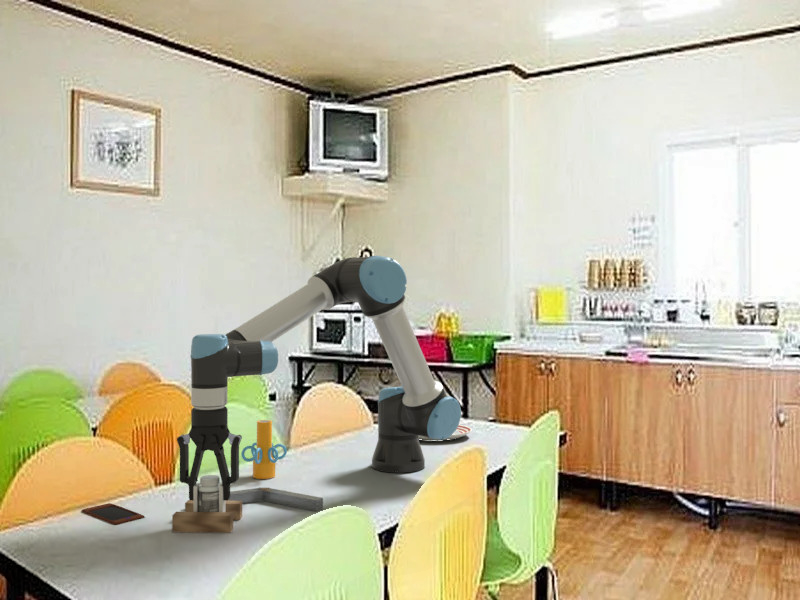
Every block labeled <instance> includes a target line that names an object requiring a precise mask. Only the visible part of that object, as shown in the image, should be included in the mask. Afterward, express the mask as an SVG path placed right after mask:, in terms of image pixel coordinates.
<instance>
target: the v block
mask: <svg viewBox="0 0 800 600" xmlns="http://www.w3.org/2000/svg"><path fill="white" fill-rule="evenodd" d="M227 501H242V505H243V504H248V503H256V502H266V503H272V504H276V505H282V506H287V507H293V508H297V509H302V510H307V511H313V512H318V511H320V510H323V509H324V508H323V507H324V498H323V497H321V496H315V495H309V494H305V493H304V494H303V493H298V492H294V491H293V492H292V491H287V490H282V489H276V488H271V487H257V488H256V487H255V488H249V489H248V488H247V489H239V490H233V491H231V490H230V498H229V499H228V500H227Z"/></svg>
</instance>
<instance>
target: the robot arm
mask: <svg viewBox="0 0 800 600" xmlns="http://www.w3.org/2000/svg"><path fill="white" fill-rule="evenodd" d="M405 272H406V271H405V270H404V268H403V267H402V265H401V264H400V263H399V262H398V261H397V260H395V259H394V258H392V257H390V256H389V257H388V256H382V255H372V256H363V257H362V256H361V257H346V258H344V259H343V258H342V259H341V260H338V261H336V262H334V263H333V264H331V265H329V266H328V267H326V268H324V269H322V270H321V271H319V272H318V273H316V274H313V276H311V277H310V278H308V281H307V284H305V285H304V286H302V287H301V288H299V289H298V290H296V291H295V292H293V293H291V294H290V295H288V296H286V297H284V298H283V299H281V300H280V301H278V302H277V303H274V304H273V305H272V306H270V307H269V308H267V309H265V310H263V311H262V312H260V313H258V314H257V315H255V316H254V317H251V319H249V320H248V321H246V322H244V323H243V324H241V325H239V326H238V327H236V328H234V329H233V330H230V331H229V332H227V333H225V334H224V333H223V334H222V333H206V334H205V333H204V334H203V333H202V334H196V335H194V336H193V337H192V339H191V347H190V355H189V357H190V362H191V363H190V367H191V369H190V370H191V371H190V372H191V382H190V383H191V388H190V390H191V391H190V392H191V393H190V395H191V397H190V399H191V400H190V405H191V406H192V407H191V410H190V411H191V414H190V415H191V417H190V418H191V420H190V421H191V425H190V426H191V428H190V430H189V432H188V433H185V434H181V435H179V436H178V437H177V438H176V442H177V444H178V447H179V482H180V483H183V484H187V485H188V500H193V512H199V487H200V486H201V485H200V482H198V477H199V474H200V470H201V466H202V461H203V457H204V454H205V452H206V451H211V452H213V454H214V456H215V459H216V463H217V466H218V467H217V468H218V472H219V477H220V481H221V484H219V485H220V486H219V512H226V500H228V499H229V498H230V492H231V485H232V484H235V483H236V482H237V481H238V480H239V479H240V444H241V441H242V439H243V436H242V435H241V434H234V433H232V432H230V429H229V427H228V425H229V424H228V422H229V421H228V413H229V412H228V411H229V410H228V407H227V406H226V405H228V381H229V380H228V378H234V377H247V376H257V375H258V376H262V375H267V374H268V375H269V374H272V373H274V372H275V371H276V369H277V367H278V364H279V353H278V349H277V346H276V345H275V343H273V342H274V341H276V340H277V339H279V338H280V337H282V336H284V335H285V334H286V333H288V332H290V331H291V330H292V329H294V328H295V327H297V326H299V325H301V324H302V323H303V322H305V321H307V320H308V319H310V318H312V317H313V316H314V315H316V314H317V313H319V312H321V311H322V310H324V311H325V310H331V309H332V308H334V307H335V306H338V305H341V304H346V303H351V302H352V303H357V304H358V305H359V307H360V310H361V312H362V314H363V316H364V317H365V318H369V319H371V320H372V322H373V325H374V327H375V328H376V331H377V333H378V336H379V338H380V340H381V342H382V345H383V347H384V348H385V352H386V353H387V356H388V358H389V361H390V363H391V364H392V367H393V369H394V372H395V374H396V376H397V378H398V380H399V382H400V385H401V386H391V387H384V388H382V389H381V388H380V390H379V392H378V401H377V412H378V413H377V421H378V422H377V428H378V429H377V430H378V431H377V432H378V436H377V437H378V438H377V441H376V442H377V443H376V445H375V449H374V451H373V455H372V457H371V468H373V469H374V470H376V471H380V472H384V473H385V472H386V473H397V474H398V473H401V474H402V473H412V472H418V471H421V470H423V469H424V468H425V457H424V453H423V450H422V446H421V444H420V441H419V435H420V436H424V437H428V438H431V439H446V438H448V437H450V436H451V435H452V434H453V433H454V432H455V431H456V429H457V427H458V425H460V421H461V418H462V409H461V405H460V403H459V401H458V400H457V399H456V398H454V397H453V396H448V395H447V393H446V390H445V388H444V386H443V384H442V382H441V381H438V380H435V379H434V377H433V375H432V372H431V369H430V368H429V366H428V362H427V360H426V357H425V356H424V353H423V351H422V349H421V346H420V344H419V341H418V339H417V336H416V334H415V332H414V330H413V327H412V325H411V323H410V320H409V318H408V315H407V313H406V311H405V308H404V306H403V305H404V303H405V300H406V296H405V293H406V290H407V286H406V285H407V283H408V282H407V276H406V273H405ZM191 440H192V442H193V443H194V445H195V446H196V447H195V450H194V456H193V457H194V458H193V461H192V466H191V470H190V467H189V465H190V461H189V460H190V459H189V456H190V452H189V451H190V450H189V448H190V447H189V444H190V442H191ZM227 440H229V442H228V443H229V444H230V446H231V447H230V470H229V467H228V464H227V459H226V455H225V449H224V448H225V447H224V444H225V443H226V441H227ZM189 471H190V472H189Z"/></svg>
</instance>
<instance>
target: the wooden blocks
mask: <svg viewBox="0 0 800 600" xmlns="http://www.w3.org/2000/svg"><path fill="white" fill-rule="evenodd" d="M171 517H172V520H171V522H172V526H171V527H172V528H171V529H172V533H203V534H205V533H209V534H210V533H211V534H212V533H213V534H215V533H216V534H222V533H223V534H230V533H231V532H232V531H233V529H234V521H240V520H241V519H242V518H243V504H242V501H227V500H226V512H193V500H190V499H188V500H187V501H186V502H185V503H184V511H175V512H174V513H173V514H172V515H171Z"/></svg>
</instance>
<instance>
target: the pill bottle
mask: <svg viewBox="0 0 800 600" xmlns="http://www.w3.org/2000/svg"><path fill="white" fill-rule="evenodd" d="M220 481H221V479H220V475H217V474H206V475H202V476H201V477H199V483H200V485H201V486H200V487H199V512H219V486H220V485H221V484H220Z"/></svg>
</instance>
